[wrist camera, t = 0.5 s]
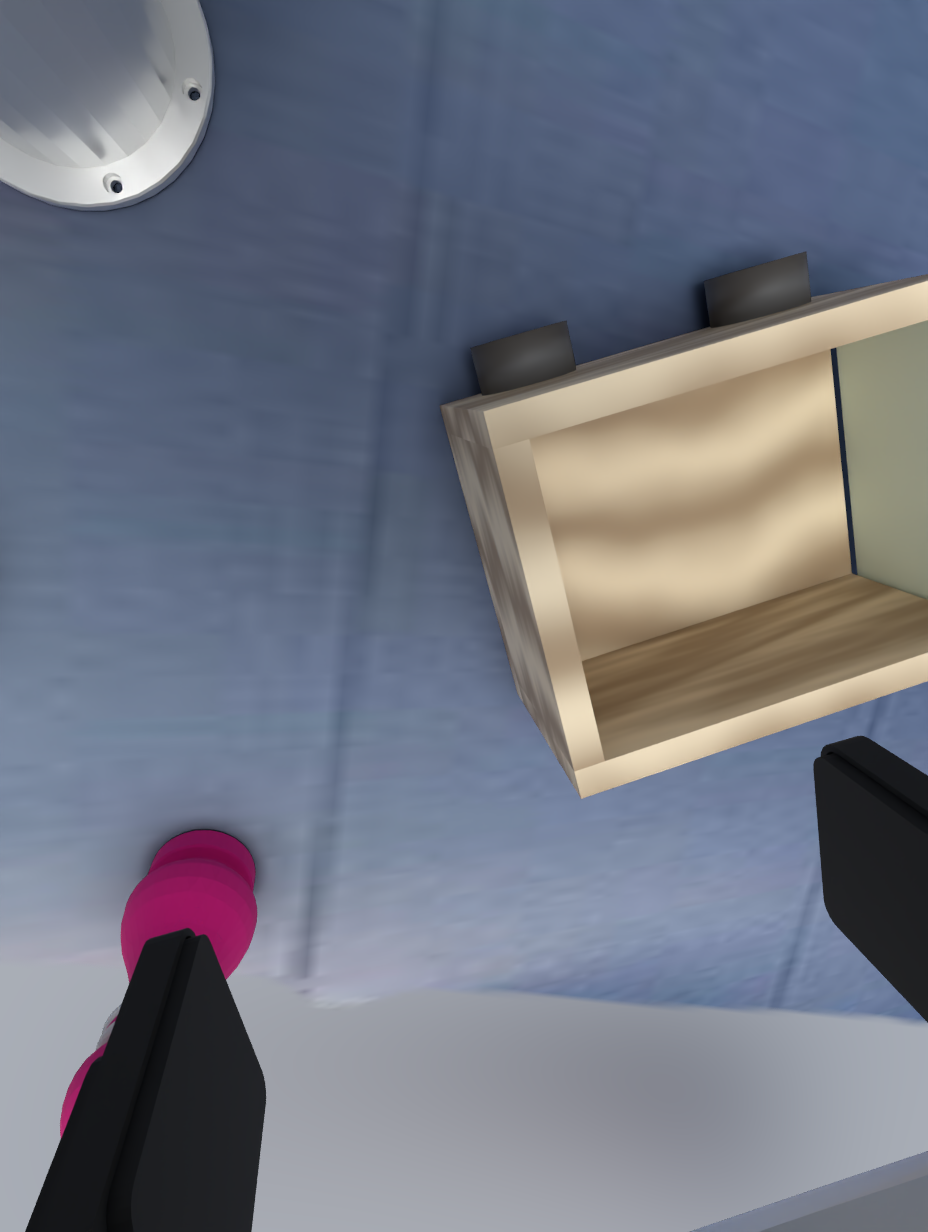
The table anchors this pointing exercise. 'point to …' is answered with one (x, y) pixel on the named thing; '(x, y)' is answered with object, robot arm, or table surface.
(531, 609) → the truck bed
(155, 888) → the pepper mill
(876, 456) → the panel
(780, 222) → the table surface
